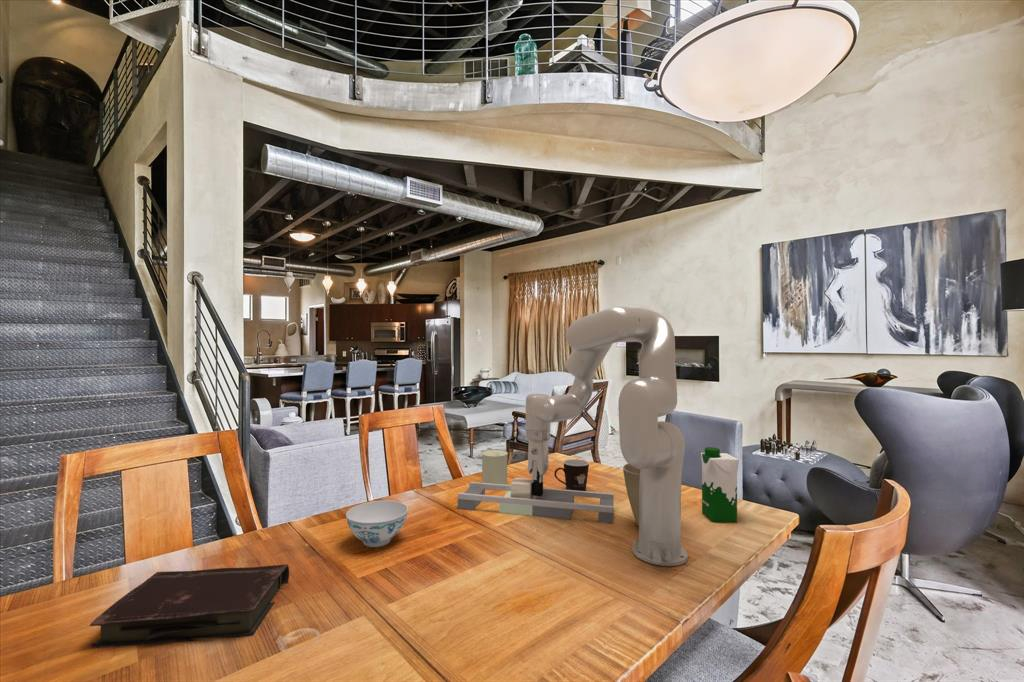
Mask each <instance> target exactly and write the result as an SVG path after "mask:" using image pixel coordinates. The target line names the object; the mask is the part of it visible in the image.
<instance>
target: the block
mask: <svg viewBox="0 0 1024 682" xmlns="http://www.w3.org/2000/svg"><path fill="white" fill-rule="evenodd" d="M510 485H511V497H513V498H525V499H532V498H533V495H532V478H523V477H514V479H512V481H511V482H510Z"/></svg>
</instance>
